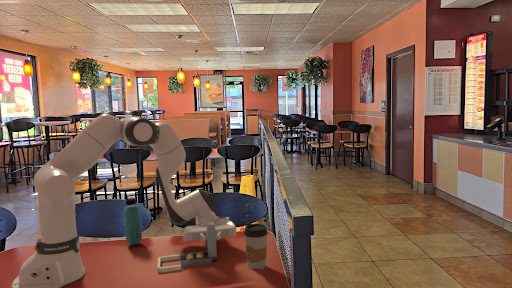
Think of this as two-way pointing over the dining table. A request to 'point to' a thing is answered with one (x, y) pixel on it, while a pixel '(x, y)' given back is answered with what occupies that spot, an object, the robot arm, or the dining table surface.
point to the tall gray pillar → (211, 240)
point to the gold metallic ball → (189, 257)
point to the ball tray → (168, 268)
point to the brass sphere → (199, 256)
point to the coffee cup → (256, 245)
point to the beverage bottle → (132, 222)
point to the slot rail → (195, 261)
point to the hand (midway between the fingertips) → (211, 239)
